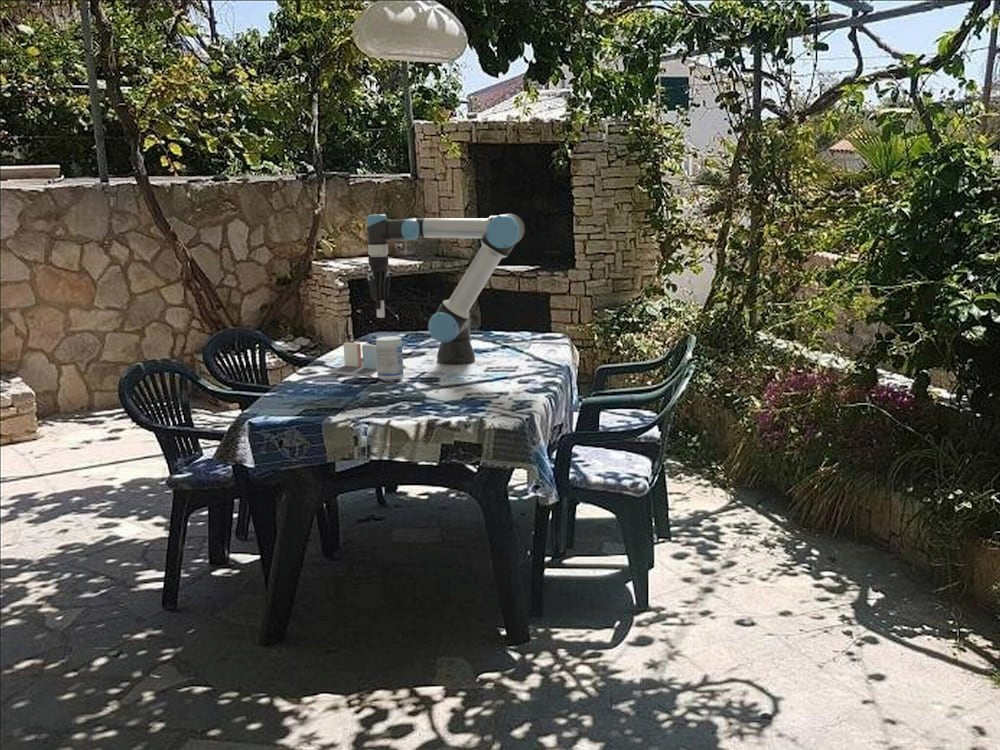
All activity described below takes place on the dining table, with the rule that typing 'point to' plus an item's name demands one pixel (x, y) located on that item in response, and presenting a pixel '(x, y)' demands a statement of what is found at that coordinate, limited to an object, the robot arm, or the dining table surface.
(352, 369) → the mat
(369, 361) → the tan rectangular block
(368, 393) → the dining table surface
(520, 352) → the dining table surface
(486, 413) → the dining table surface
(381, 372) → the supplement tub
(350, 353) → the tan flat block
